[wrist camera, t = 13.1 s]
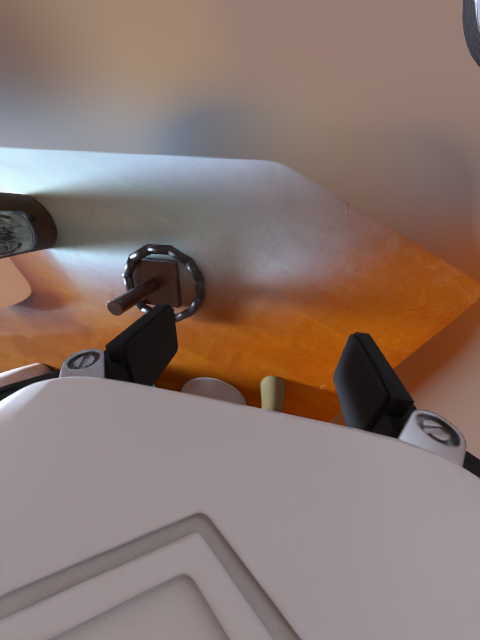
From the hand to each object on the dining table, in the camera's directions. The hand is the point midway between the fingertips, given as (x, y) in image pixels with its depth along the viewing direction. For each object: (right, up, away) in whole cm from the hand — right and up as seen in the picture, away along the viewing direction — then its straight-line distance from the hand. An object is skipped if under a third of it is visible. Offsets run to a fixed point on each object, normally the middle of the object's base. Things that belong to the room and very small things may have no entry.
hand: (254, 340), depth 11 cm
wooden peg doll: (+7, -15, +38) cm, 41 cm away
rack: (-17, +9, +30) cm, 35 cm away
